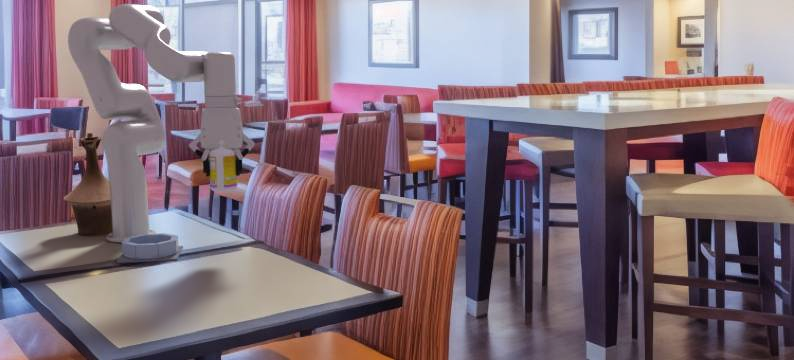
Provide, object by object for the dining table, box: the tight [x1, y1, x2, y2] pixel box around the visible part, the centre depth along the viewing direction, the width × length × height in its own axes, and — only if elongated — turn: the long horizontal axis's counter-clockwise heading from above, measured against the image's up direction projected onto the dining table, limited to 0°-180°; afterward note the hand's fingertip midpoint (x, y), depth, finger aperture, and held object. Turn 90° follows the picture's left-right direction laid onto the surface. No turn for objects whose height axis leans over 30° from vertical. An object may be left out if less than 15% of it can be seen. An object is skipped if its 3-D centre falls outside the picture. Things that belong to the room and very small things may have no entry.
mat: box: [116, 245, 184, 264], centre depth 204 cm, size 14×14×1 cm
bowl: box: [121, 232, 180, 260], centre depth 203 cm, size 13×13×4 cm
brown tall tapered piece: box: [63, 132, 112, 237], centre depth 230 cm, size 18×17×28 cm
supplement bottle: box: [208, 140, 238, 192], centre depth 203 cm, size 7×7×13 cm
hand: (223, 174), depth 204 cm, fingers closed on supplement bottle, 6 cm apart
